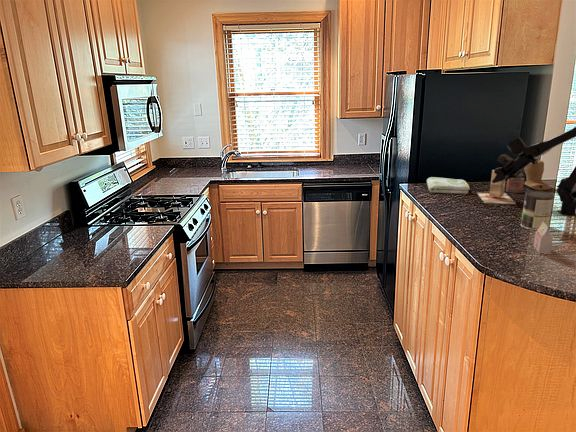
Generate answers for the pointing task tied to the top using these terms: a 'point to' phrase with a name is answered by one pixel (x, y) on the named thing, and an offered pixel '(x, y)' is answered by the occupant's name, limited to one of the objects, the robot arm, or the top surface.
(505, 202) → the card
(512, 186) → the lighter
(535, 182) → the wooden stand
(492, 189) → the pepper mill
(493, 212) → the top surface
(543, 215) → the coffee can
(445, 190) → the towel
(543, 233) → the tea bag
